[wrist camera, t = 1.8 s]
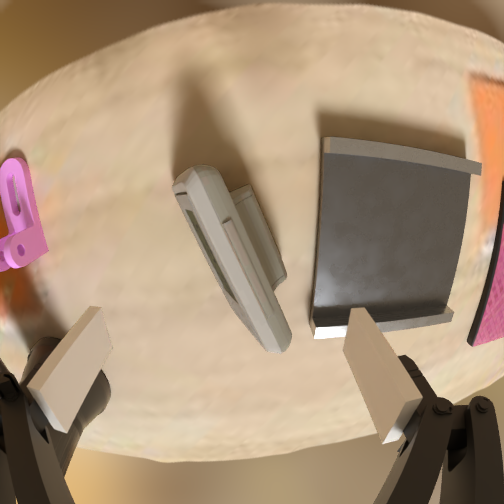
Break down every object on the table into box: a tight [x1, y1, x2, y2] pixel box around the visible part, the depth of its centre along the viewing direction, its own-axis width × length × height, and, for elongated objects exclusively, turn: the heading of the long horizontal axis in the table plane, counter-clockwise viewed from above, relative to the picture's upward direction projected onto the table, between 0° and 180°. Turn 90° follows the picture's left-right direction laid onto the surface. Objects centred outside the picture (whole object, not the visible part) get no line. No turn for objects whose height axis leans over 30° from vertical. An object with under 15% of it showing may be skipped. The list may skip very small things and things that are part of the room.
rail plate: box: [309, 137, 482, 339], centre depth 29 cm, size 20×21×3 cm
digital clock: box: [172, 164, 292, 353], centre depth 25 cm, size 16×9×11 cm, turn 11°
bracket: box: [0, 157, 49, 272], centre depth 24 cm, size 13×6×7 cm, turn 9°
